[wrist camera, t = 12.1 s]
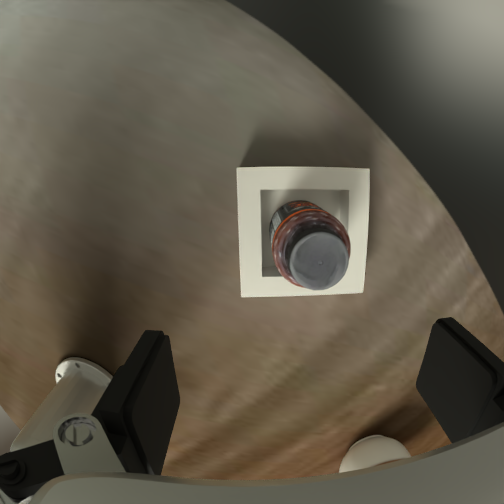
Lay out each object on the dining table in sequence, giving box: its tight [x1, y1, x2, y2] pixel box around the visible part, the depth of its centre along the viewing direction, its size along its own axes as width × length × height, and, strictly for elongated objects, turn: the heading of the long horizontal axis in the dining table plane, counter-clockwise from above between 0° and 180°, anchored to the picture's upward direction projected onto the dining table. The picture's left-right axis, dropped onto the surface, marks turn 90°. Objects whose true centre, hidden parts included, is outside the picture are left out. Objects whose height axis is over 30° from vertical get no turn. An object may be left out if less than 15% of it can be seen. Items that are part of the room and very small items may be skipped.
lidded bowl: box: [339, 435, 411, 473], centre depth 36 cm, size 13×13×11 cm
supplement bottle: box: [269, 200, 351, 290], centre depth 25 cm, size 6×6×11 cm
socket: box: [237, 167, 370, 297], centre depth 29 cm, size 12×12×4 cm
